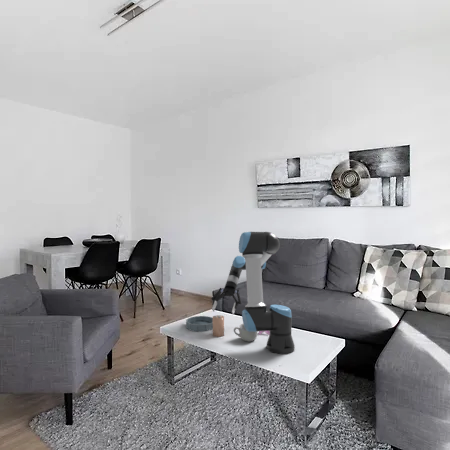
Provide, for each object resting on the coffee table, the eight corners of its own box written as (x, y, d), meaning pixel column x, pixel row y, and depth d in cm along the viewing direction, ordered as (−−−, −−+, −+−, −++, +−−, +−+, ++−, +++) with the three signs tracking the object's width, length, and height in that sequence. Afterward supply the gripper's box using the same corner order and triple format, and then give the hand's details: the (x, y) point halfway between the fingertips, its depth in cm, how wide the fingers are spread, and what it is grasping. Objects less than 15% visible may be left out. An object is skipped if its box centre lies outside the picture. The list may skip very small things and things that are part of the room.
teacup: (257, 336, 205) (257, 323, 205) (257, 343, 194) (257, 329, 194) (234, 336, 207) (234, 322, 206) (233, 342, 196) (233, 328, 196)
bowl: (219, 323, 229) (219, 318, 229) (207, 332, 212) (207, 326, 212) (194, 320, 237) (194, 314, 236) (180, 328, 219) (180, 322, 219)
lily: (249, 334, 212) (251, 323, 207) (257, 322, 221) (259, 311, 216) (267, 343, 208) (269, 332, 203) (274, 330, 217) (277, 320, 212)
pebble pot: (225, 333, 210) (225, 314, 210) (221, 337, 204) (221, 317, 204) (215, 332, 213) (215, 313, 213) (210, 335, 206) (210, 316, 206)
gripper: (250, 288, 227) (242, 317, 213) (216, 285, 236) (206, 312, 223) (248, 281, 222) (239, 310, 208) (213, 279, 231) (203, 306, 218)
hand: (222, 311), depth 216 cm, fingers open, 13 cm apart
